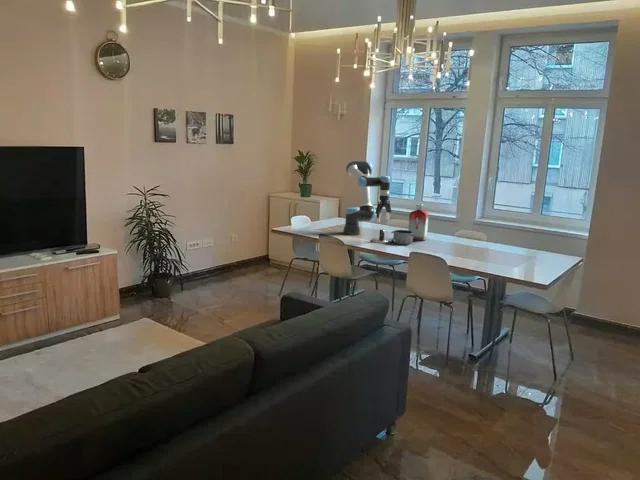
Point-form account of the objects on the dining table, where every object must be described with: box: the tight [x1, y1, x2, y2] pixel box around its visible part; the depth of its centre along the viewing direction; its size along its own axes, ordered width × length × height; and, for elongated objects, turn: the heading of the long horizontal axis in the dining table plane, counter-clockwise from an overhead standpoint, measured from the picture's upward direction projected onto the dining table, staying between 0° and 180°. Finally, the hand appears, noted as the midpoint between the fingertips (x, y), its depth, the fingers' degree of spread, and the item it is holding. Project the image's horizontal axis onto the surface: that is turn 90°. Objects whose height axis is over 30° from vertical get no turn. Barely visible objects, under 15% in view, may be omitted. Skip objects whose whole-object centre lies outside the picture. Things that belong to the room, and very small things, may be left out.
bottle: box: [407, 203, 430, 242], centre depth 433 cm, size 14×10×30 cm
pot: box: [390, 229, 416, 246], centre depth 420 cm, size 21×16×9 cm
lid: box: [371, 229, 392, 244], centre depth 422 cm, size 16×16×10 cm
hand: (382, 221), depth 419 cm, fingers open, 13 cm apart
